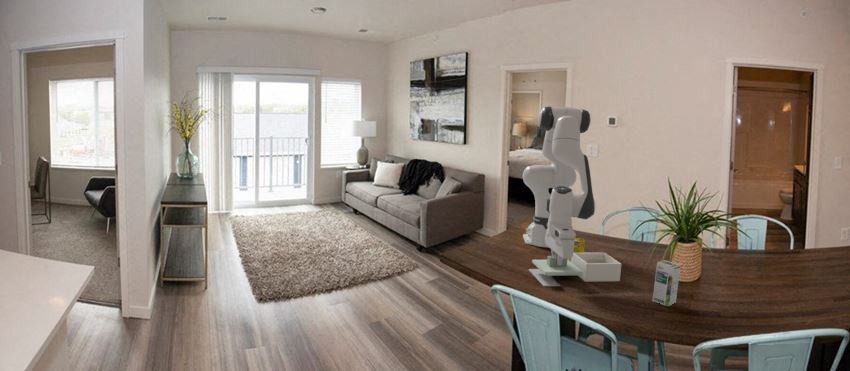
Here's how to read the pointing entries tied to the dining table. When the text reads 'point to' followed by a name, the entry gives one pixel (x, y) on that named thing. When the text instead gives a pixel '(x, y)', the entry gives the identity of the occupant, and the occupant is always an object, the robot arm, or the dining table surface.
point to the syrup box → (666, 282)
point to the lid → (556, 267)
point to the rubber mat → (544, 278)
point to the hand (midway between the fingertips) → (556, 262)
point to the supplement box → (578, 246)
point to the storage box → (597, 267)
